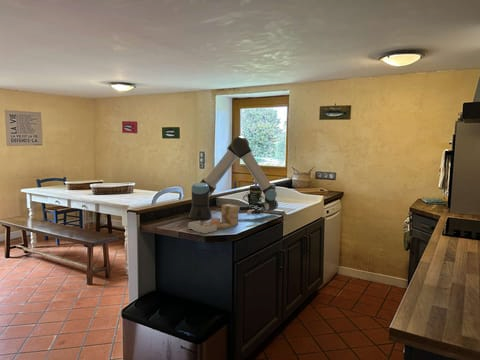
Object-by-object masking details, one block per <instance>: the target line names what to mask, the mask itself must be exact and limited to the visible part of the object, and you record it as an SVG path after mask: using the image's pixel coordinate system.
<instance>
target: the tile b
mask: <svg viewBox="0 0 480 360" xmlns="http://www.w3.org/2000/svg"><path fill="white" fill-rule="evenodd" d="M209 220H210V221H209V222H210V225H215V224H217V226H219V225H220V222H221V219H220V220H216V219H215V220H211V219H209Z"/></svg>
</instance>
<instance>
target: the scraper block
mask: <svg viewBox="0 0 480 360" xmlns="http://www.w3.org/2000/svg"><path fill="white" fill-rule="evenodd" d="M238 206H239V205H235V204H230V203H226V204H221V206H220V207H221V212H220V213H221V215H220V216H221V217H220V222H223V223H227V224H230V227H234V226H238V225H239V211H238Z"/></svg>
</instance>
